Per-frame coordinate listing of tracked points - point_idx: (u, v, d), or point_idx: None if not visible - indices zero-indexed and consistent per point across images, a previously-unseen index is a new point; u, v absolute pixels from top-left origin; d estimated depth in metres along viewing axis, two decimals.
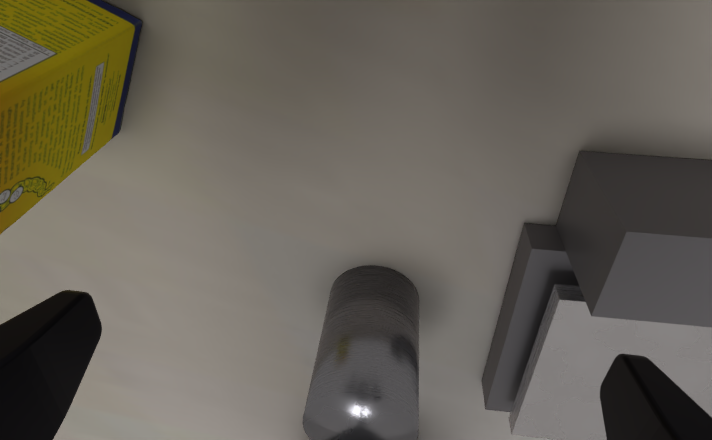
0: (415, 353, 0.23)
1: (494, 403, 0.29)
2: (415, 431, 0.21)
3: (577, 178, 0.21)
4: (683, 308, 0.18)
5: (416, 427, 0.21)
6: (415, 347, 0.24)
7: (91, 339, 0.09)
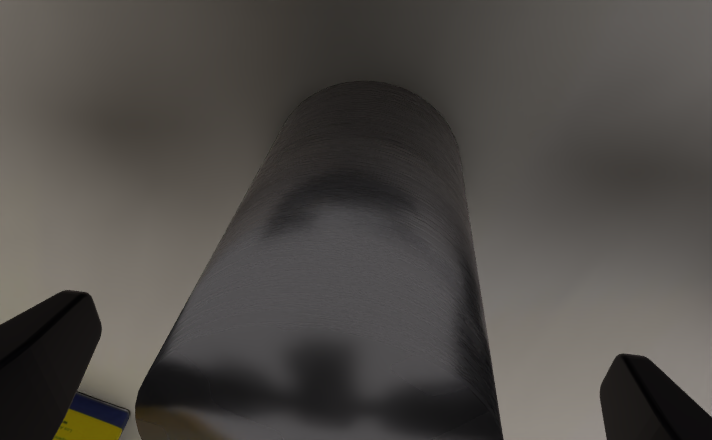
0: (289, 177, 0.08)
1: None
2: (291, 334, 0.05)
3: None
4: None
5: (264, 330, 0.05)
6: (294, 167, 0.09)
7: (91, 339, 0.09)
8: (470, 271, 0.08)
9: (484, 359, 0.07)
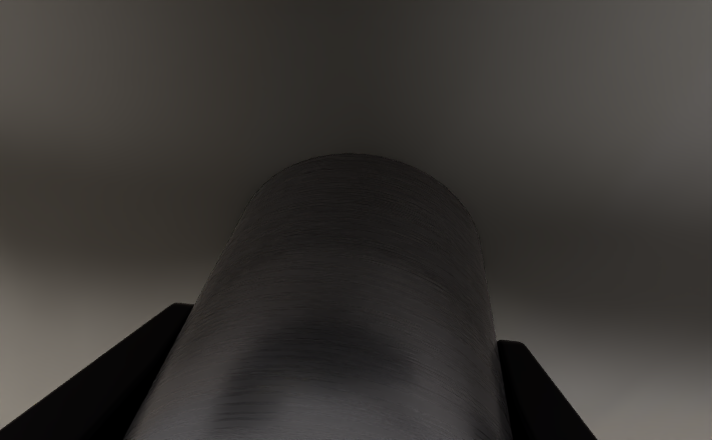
0: (225, 355, 0.05)
1: None
2: None
3: None
4: None
5: None
6: (235, 329, 0.06)
7: None
8: None
9: None
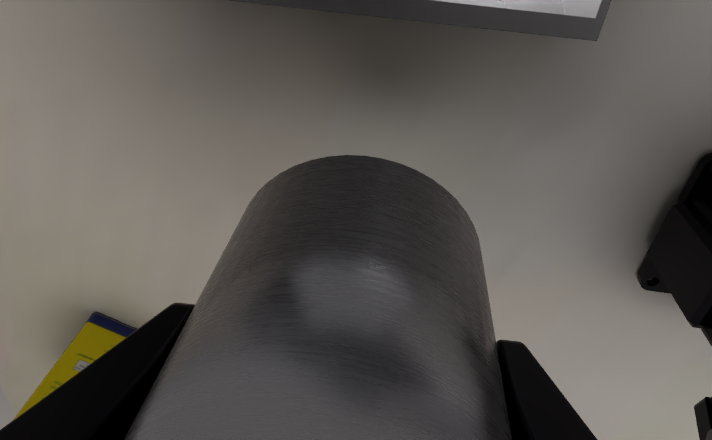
0: (225, 356, 0.05)
1: (579, 24, 0.14)
2: None
3: None
4: None
5: None
6: (235, 331, 0.06)
7: None
8: None
9: None
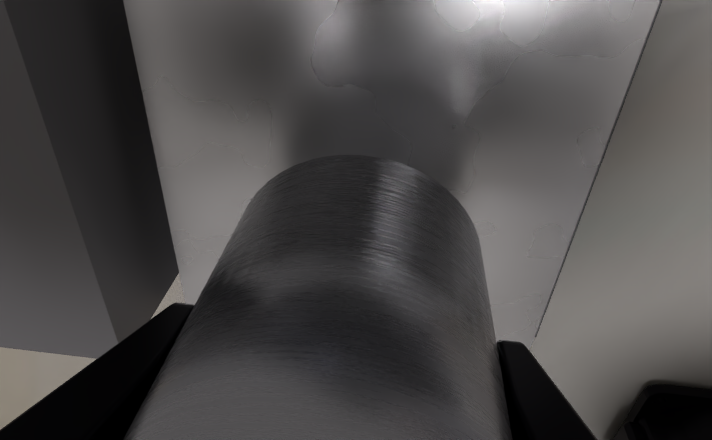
0: (224, 356, 0.05)
1: None
2: None
3: None
4: (62, 271, 0.12)
5: None
6: (235, 331, 0.06)
7: None
8: None
9: None
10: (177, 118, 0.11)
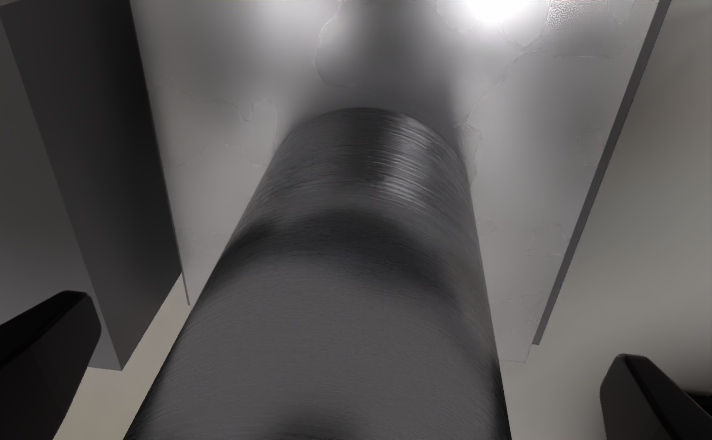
0: (275, 233, 0.07)
1: None
2: None
3: None
4: (58, 280, 0.11)
5: None
6: (280, 219, 0.07)
7: (91, 339, 0.09)
8: (489, 350, 0.07)
9: None
10: (182, 117, 0.11)
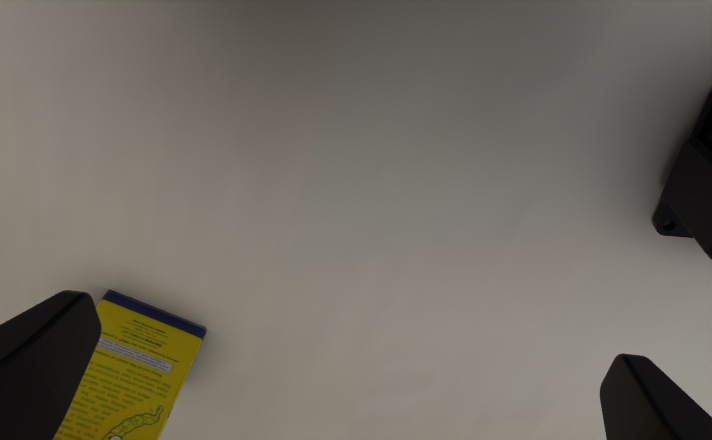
0: None
1: None
2: None
3: None
4: None
5: None
6: None
7: (91, 339, 0.09)
8: None
9: None
10: None
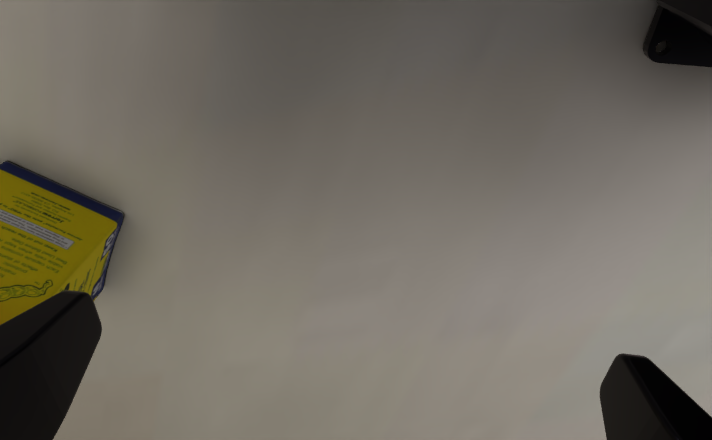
0: None
1: None
2: None
3: None
4: None
5: None
6: None
7: (91, 339, 0.09)
8: None
9: None
10: None
